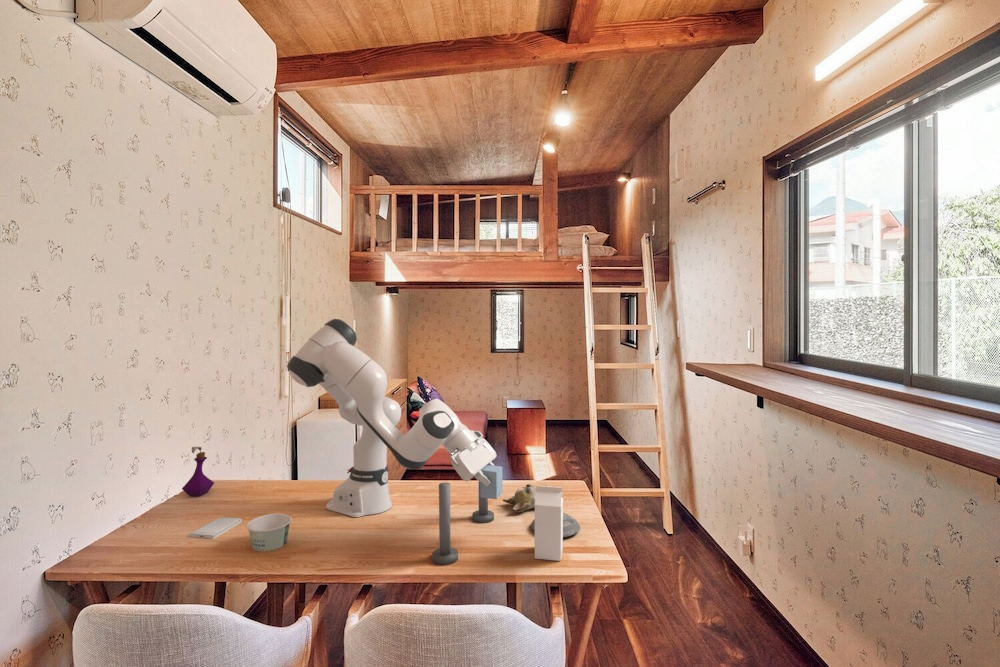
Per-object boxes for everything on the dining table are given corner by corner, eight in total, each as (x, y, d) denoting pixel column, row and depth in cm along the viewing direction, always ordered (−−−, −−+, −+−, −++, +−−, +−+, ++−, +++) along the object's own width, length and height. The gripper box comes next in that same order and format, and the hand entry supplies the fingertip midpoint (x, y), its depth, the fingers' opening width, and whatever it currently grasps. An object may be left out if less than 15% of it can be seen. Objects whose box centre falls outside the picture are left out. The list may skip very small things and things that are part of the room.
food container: (237, 552, 141) (236, 529, 141) (263, 533, 153) (262, 512, 153) (277, 555, 140) (276, 531, 139) (300, 535, 151) (299, 514, 151)
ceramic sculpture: (552, 486, 168) (510, 493, 164) (554, 511, 169) (511, 519, 165) (541, 476, 179) (501, 483, 174) (542, 500, 179) (502, 507, 175)
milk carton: (560, 561, 135) (560, 492, 135) (534, 559, 137) (534, 490, 136) (562, 549, 142) (563, 483, 142) (537, 547, 144) (537, 481, 143)
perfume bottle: (196, 490, 190) (195, 443, 189) (214, 491, 189) (213, 443, 188) (181, 497, 182) (180, 448, 182) (200, 498, 181) (199, 449, 181)
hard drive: (219, 516, 163) (189, 533, 151) (242, 518, 162) (213, 535, 149) (219, 521, 163) (189, 538, 151) (242, 523, 162) (213, 540, 149)
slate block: (480, 497, 146) (480, 470, 145) (486, 491, 150) (486, 465, 150) (496, 499, 144) (496, 471, 144) (502, 493, 149) (502, 466, 148)
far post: (469, 521, 161) (469, 457, 161) (477, 513, 168) (477, 452, 167) (489, 524, 159) (489, 459, 158) (496, 515, 166) (496, 454, 165)
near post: (427, 562, 135) (426, 487, 134) (439, 550, 142) (438, 479, 141) (451, 566, 133) (450, 490, 132) (462, 554, 139) (461, 481, 138)
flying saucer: (589, 530, 155) (589, 513, 155) (559, 546, 145) (559, 527, 144) (552, 516, 166) (552, 500, 166) (521, 530, 155) (521, 513, 155)
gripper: (454, 447, 139) (487, 486, 136) (481, 430, 158) (511, 463, 155) (440, 461, 141) (472, 500, 138) (468, 442, 160) (497, 476, 157)
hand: (493, 480), depth 147 cm, fingers closed on slate block, 5 cm apart
